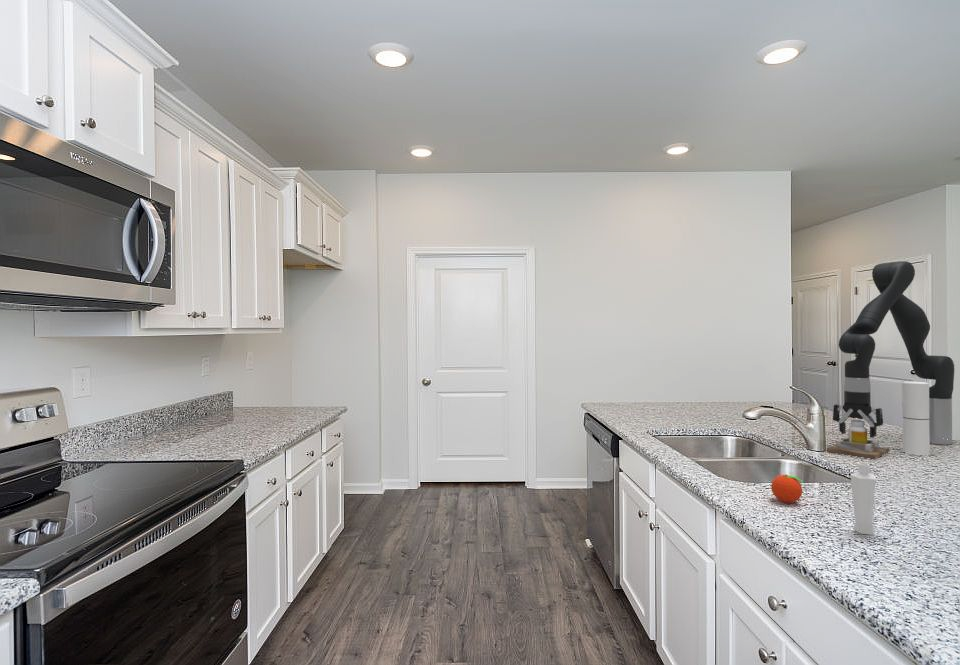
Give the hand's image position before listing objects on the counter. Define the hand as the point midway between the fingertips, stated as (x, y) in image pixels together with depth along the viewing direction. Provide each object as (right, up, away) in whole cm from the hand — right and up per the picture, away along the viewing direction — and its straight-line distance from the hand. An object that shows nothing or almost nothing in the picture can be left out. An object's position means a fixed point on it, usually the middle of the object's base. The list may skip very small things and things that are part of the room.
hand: (857, 435), depth 179 cm
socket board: (0, -6, 0) cm, 6 cm away
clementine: (-55, -8, -49) cm, 74 cm away
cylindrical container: (+19, -6, -3) cm, 20 cm away
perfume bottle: (-50, -8, -67) cm, 84 cm away
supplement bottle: (0, -5, 0) cm, 5 cm away
